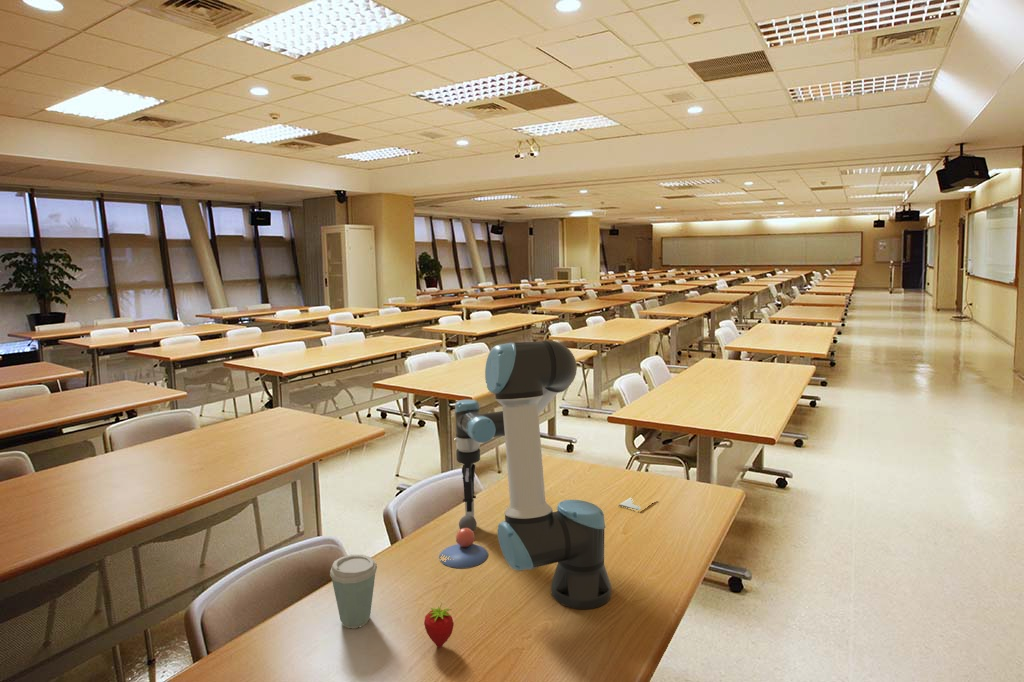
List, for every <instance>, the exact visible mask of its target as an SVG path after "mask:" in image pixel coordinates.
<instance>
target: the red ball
mask: <svg viewBox="0 0 1024 682" xmlns="http://www.w3.org/2000/svg"><path fill="white" fill-rule="evenodd" d="M475 536H476V535H475V533H474V531H472V530H471V529H469V528H462V529H460V528H459V530H458V531H457V533H456V535H455V539H456V540H455V541H456V542H457V544H459V545H460V546H461V547H469V546H471V545H472V544H474V541H475V538H476V537H475Z"/></svg>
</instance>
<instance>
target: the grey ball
mask: <svg viewBox="0 0 1024 682" xmlns="http://www.w3.org/2000/svg"><path fill="white" fill-rule="evenodd" d="M458 526H459V530H460V529H462V528H469V529H471V530H472V531H473V532H475V531H476V528H477V520H476V518H475V516H474V517H472V516H470V515H466V516H465V515H463V516H462V517H461V518H460V520H459V523H458Z"/></svg>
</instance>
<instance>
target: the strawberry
mask: <svg viewBox="0 0 1024 682" xmlns="http://www.w3.org/2000/svg"><path fill="white" fill-rule="evenodd" d="M442 605H443V603H442V602H441V604H440V606H437V608H434V607H430V609H431V610H429V612H428V613H427V614H426V615H425V617H424V623H423V625H424V629H425V631H426V634H427V635H428V637H429V639H430V641H432V643H433V644H434V645H435V646H436V647H437V648H441V647H443V645H444V644H445V643H446V642H447V641H448V640H449V639H450V638H451V635H452V633H453V629H454V626H455V625H454V620H453V617H452V615H451V614H450V613H448V612H449V611H452V608H444V609H441V608H442Z"/></svg>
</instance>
